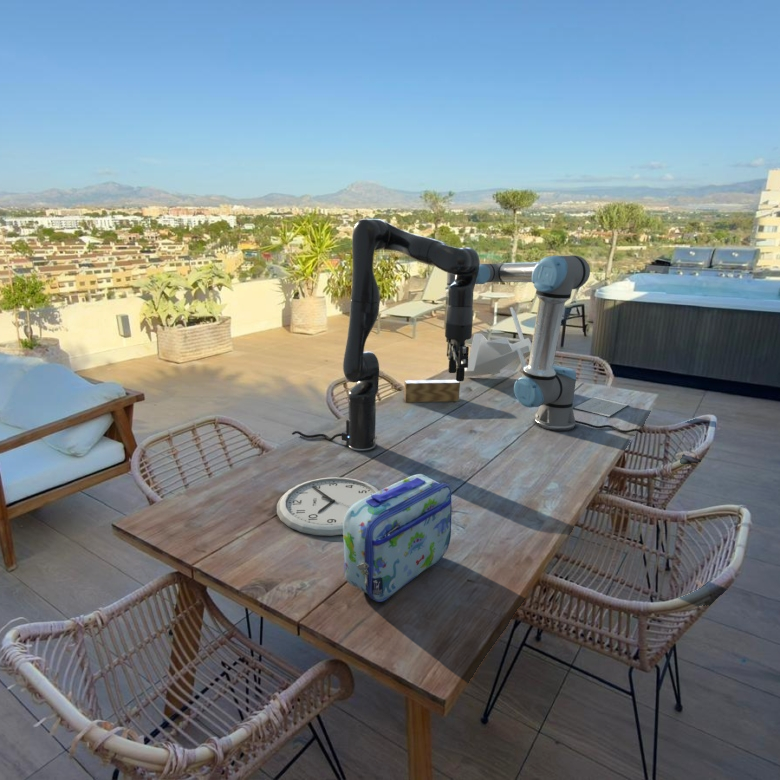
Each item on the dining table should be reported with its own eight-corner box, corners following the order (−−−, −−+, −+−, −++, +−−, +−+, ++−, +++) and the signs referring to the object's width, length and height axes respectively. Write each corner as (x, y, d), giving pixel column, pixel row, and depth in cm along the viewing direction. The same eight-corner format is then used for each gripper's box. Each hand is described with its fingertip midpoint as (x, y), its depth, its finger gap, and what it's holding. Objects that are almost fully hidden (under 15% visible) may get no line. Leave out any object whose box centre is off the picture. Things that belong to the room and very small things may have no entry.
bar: (456, 397, 235) (457, 379, 232) (458, 401, 230) (459, 382, 228) (404, 398, 232) (404, 380, 230) (405, 402, 228) (406, 383, 226)
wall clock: (392, 527, 129) (268, 531, 127) (391, 533, 130) (269, 537, 127) (383, 473, 158) (282, 475, 155) (383, 478, 158) (282, 480, 156)
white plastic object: (480, 418, 266) (459, 395, 242) (461, 346, 288) (441, 318, 264) (550, 394, 254) (536, 368, 229) (526, 321, 276) (510, 289, 251)
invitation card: (608, 416, 214) (573, 407, 224) (608, 416, 214) (573, 408, 224) (628, 404, 229) (594, 396, 238) (628, 405, 229) (594, 397, 238)
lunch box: (371, 615, 102) (372, 521, 96) (337, 588, 110) (335, 499, 103) (455, 559, 120) (460, 477, 114) (420, 540, 127) (423, 461, 121)
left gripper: (440, 317, 153) (437, 370, 158) (452, 326, 140) (449, 384, 144) (465, 317, 154) (461, 370, 159) (479, 325, 141) (475, 383, 146)
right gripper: (440, 291, 230) (438, 339, 236) (452, 299, 206) (449, 351, 213) (457, 291, 231) (455, 339, 237) (471, 299, 207) (467, 351, 213)
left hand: (455, 376), depth 152 cm, fingers open, 8 cm apart
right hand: (452, 345), depth 225 cm, fingers open, 13 cm apart
